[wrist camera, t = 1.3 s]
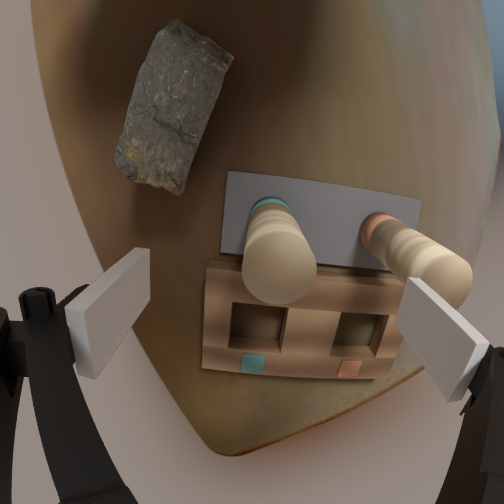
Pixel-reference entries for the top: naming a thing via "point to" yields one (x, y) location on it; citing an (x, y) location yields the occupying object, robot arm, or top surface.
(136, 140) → the rock
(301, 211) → the mat
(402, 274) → the peg
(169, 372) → the top surface
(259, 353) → the socket board
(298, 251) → the peg
